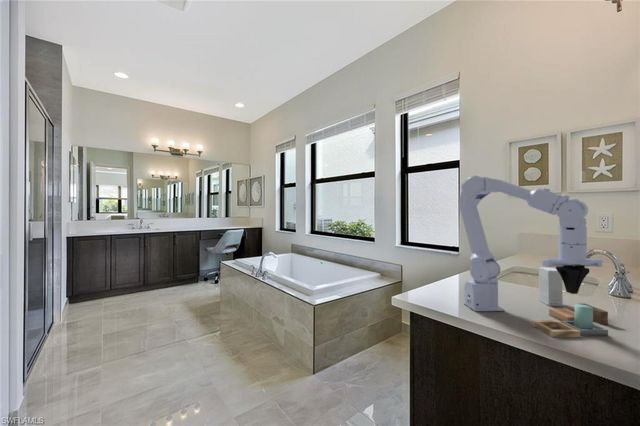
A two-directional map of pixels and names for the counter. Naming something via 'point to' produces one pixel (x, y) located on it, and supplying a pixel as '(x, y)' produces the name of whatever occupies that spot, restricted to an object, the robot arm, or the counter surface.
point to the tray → (589, 330)
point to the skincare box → (550, 286)
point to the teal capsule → (583, 317)
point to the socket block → (565, 332)
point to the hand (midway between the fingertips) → (571, 292)
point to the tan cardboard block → (562, 314)
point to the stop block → (599, 315)
